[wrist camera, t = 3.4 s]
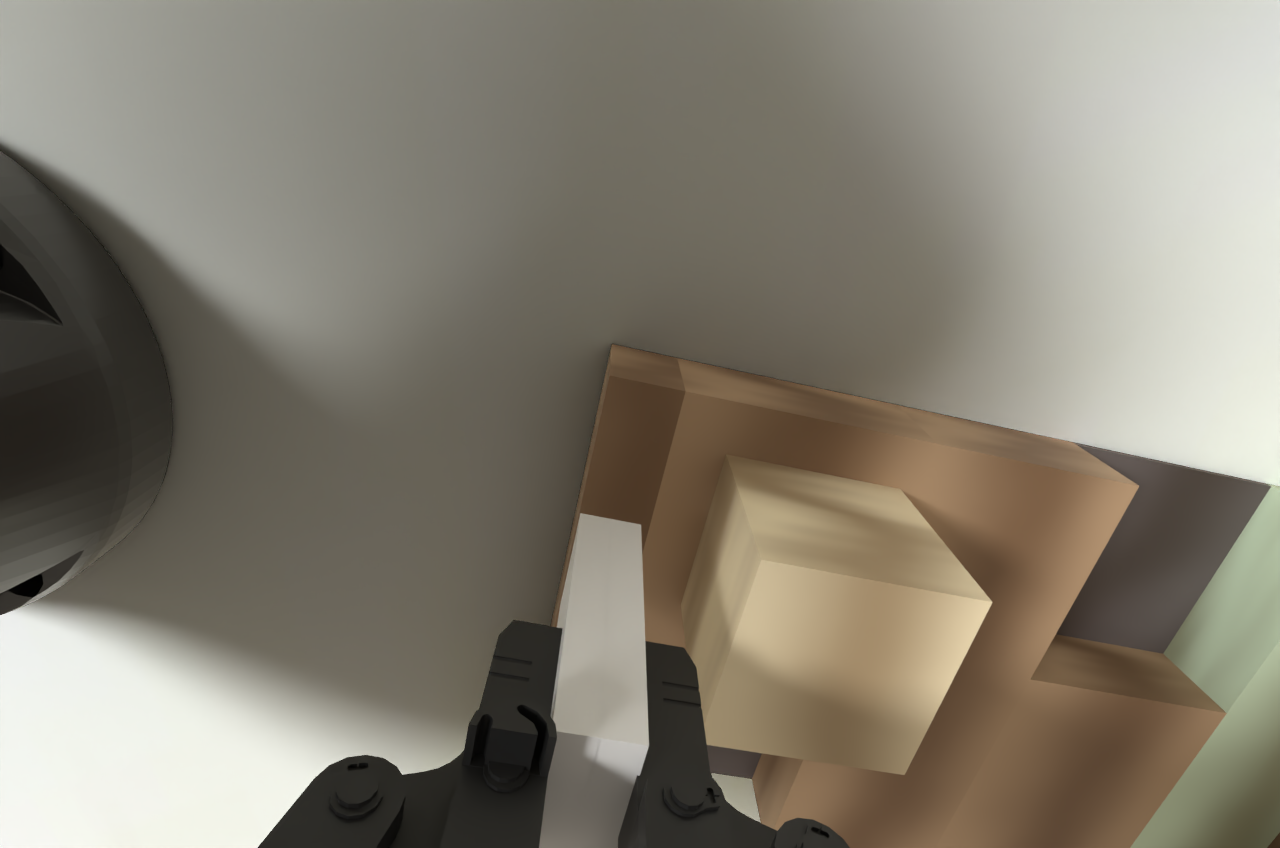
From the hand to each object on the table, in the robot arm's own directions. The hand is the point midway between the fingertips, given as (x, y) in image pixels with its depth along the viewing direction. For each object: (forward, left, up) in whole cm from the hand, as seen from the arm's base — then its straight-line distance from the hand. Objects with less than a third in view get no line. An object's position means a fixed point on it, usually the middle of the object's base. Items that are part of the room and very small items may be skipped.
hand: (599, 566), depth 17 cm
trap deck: (+13, -4, -5) cm, 15 cm away
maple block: (+5, 0, -2) cm, 6 cm away
